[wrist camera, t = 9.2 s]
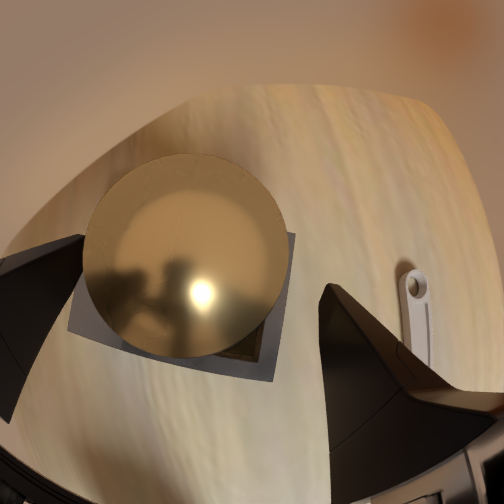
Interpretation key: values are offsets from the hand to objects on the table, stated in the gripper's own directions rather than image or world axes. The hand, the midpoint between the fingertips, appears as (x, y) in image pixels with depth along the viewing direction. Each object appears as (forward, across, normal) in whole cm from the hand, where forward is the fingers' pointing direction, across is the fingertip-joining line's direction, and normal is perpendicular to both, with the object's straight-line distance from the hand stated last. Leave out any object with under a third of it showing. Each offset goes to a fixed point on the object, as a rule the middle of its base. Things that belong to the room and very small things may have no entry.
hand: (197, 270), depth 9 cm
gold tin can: (+6, 0, +6) cm, 9 cm away
